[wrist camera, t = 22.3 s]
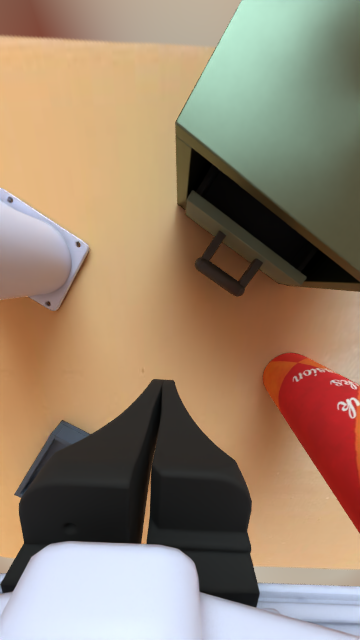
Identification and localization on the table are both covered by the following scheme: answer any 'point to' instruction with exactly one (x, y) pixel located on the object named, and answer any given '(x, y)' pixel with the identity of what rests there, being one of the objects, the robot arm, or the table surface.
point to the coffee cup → (321, 421)
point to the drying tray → (51, 451)
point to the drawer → (246, 234)
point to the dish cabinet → (285, 124)
